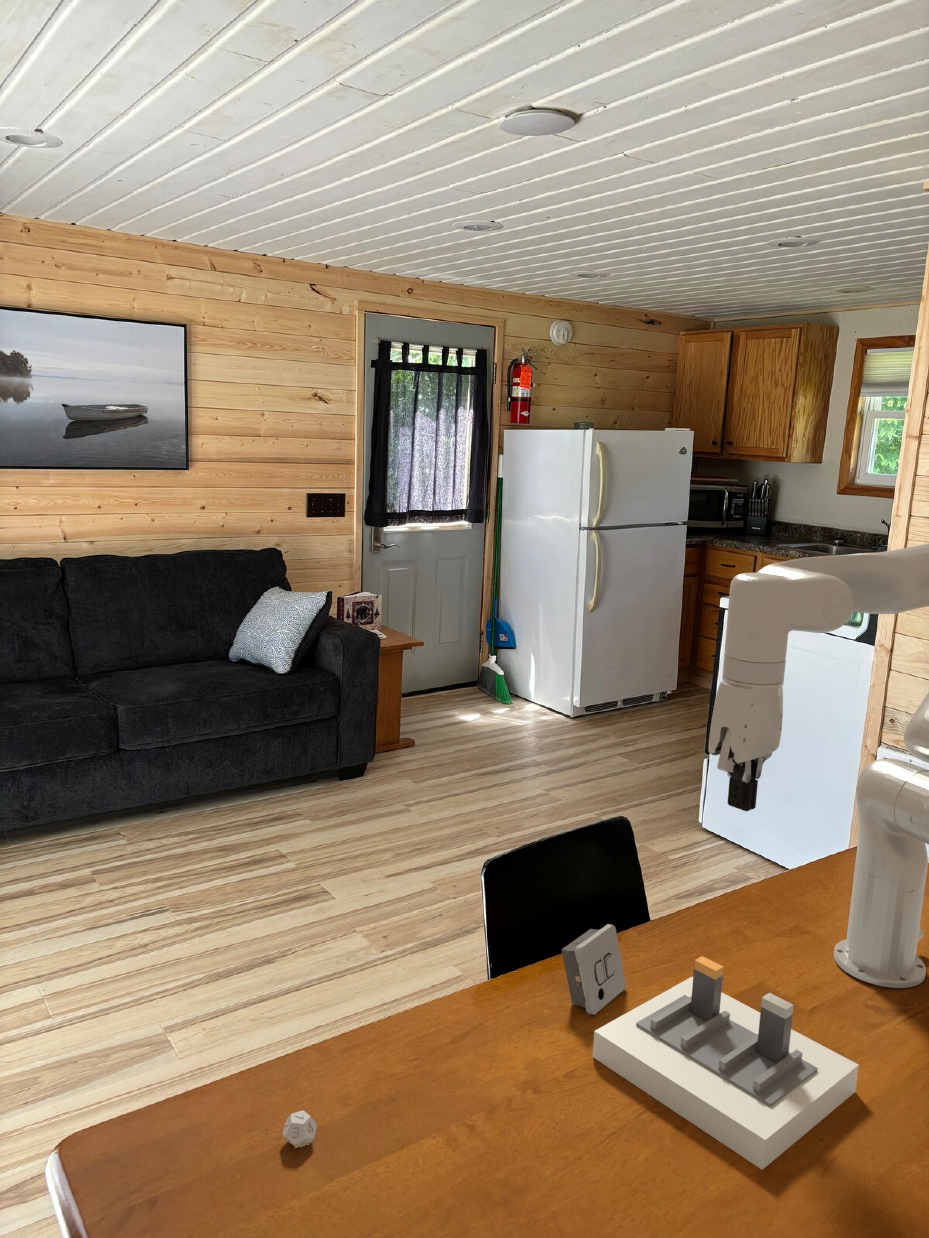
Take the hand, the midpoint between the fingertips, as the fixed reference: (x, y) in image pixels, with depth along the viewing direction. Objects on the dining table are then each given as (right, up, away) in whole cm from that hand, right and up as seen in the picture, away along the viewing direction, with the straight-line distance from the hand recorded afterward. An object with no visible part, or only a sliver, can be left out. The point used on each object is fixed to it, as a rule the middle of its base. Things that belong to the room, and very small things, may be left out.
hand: (741, 806), depth 126 cm
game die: (-54, -32, -22) cm, 67 cm away
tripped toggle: (-6, -26, -3) cm, 27 cm away
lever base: (-5, -31, -8) cm, 32 cm away
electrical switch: (-19, -28, +7) cm, 34 cm away
